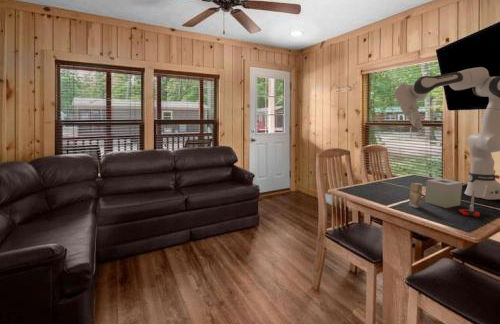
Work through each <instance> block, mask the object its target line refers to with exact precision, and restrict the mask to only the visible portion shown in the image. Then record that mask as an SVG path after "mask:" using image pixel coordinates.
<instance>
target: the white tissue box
mask: <svg viewBox="0 0 500 324" xmlns="http://www.w3.org/2000/svg"><path fill="white" fill-rule="evenodd" d="M425 184H426V185H425V196H424V203H427V204H430V205H433V206H437V207H441V208H444V209H447V208H452V207H458V206H460V205H461V199H462V192H463V191H462V189H463V182H461V181H455V180H451V179H446V178H441V177H440V178H434V179H428V180H426V183H425Z"/></svg>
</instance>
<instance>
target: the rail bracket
mask: <svg viewBox="0 0 500 324" xmlns="http://www.w3.org/2000/svg"><path fill="white" fill-rule="evenodd" d="M409 188H410V189H409V199H408V201H409V202H408V206H409V207H410V208H411V207H412V208H413V209H414V208H415V209H417V208H418V209H419V208H421V204H422V194H423V183H418V182H411V183H410V187H409Z"/></svg>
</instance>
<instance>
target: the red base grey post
mask: <svg viewBox="0 0 500 324" xmlns="http://www.w3.org/2000/svg"><path fill="white" fill-rule="evenodd" d="M474 192H475V191H473V192H472V196H470V197H471V199H470V205H469V208H468V209H466V208H465V209H463V208H462V209H459V210H458V212H459V213H461V214H462V215H463V216H468V217H469V216H470V217H476V218H479V217H480V215H481V213H480V212H479V211H476V210H475V209H474V208H475V207H474V205H475V198H476V197H475V195H474Z"/></svg>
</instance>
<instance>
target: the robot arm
mask: <svg viewBox="0 0 500 324" xmlns="http://www.w3.org/2000/svg"><path fill="white" fill-rule="evenodd" d="M444 86H449V87H450V88H451V89H452V90H453V91H463V90H467V89H472V92H473V94H474V95H475V96H477V97H481V98H483V97H484V98H485V97H488V104H487V106H486V109H485V111H484V113H483V116H482V119H481V125H482V129H481V132H475V133H472V134H470V135H469V136H468V137H467V138H466V144H467V146H468V148H469V154H470V170H469V172H468V177H467V181H468V182H467V185H466V189H465V191H464V192H463V194H465V195H466V196H469V197H471V196H472V192H473V191H475V192H474V195H475V197H474V198H481V199H484V200H500V182H499V181H497V180H499V179H500V175H498V174H494V170H495V169H494V167H495V160H494V158H493V156H492V153H497V152H500V75H499V76H490V73H489V70H488V69H487V68H485V67H483V66H479V67H472V68H466V69H462V70H460V71H454V72H448V73H445V74H440V75H439V74H438V75H424V76H423V75H422V76H420V77H417V79H415V82H414V84H408V83H401V84H399V85H397V86H396V88H395V89H394V91H393V96H394V97H395V99H396V103H398V104H399V106H400V107H399V108H400V110H401V111H402V113H403V115H404V116H405V117H407V119H408V120H409V122H410V124H411V125H412V126H413V127H416V129H417V131H418V132H420V131H422V128H423V127H424V125H423V124H422V120H421V119H422V115H421V113H420V112H419V109H420V106H419V104H418V102H419V101H422V100H423V99H425V98H426V97H427V95H428V94H429V93H430V92H432V90H434V89H436V88H439V87H444ZM496 179H497V180H496Z"/></svg>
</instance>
